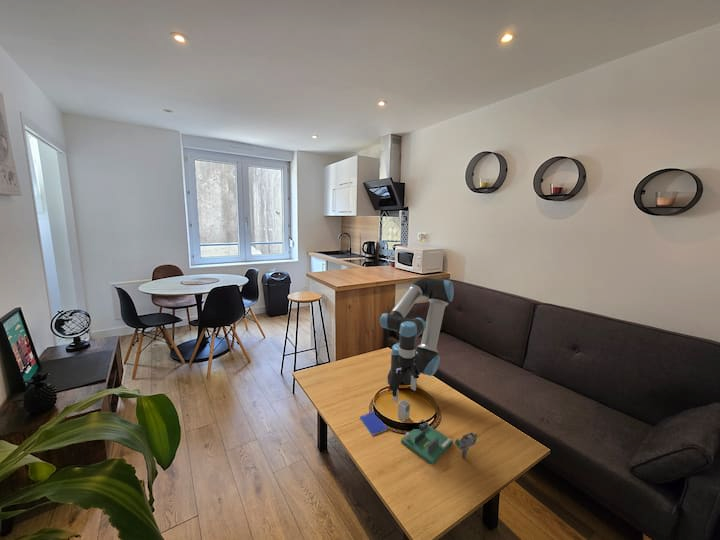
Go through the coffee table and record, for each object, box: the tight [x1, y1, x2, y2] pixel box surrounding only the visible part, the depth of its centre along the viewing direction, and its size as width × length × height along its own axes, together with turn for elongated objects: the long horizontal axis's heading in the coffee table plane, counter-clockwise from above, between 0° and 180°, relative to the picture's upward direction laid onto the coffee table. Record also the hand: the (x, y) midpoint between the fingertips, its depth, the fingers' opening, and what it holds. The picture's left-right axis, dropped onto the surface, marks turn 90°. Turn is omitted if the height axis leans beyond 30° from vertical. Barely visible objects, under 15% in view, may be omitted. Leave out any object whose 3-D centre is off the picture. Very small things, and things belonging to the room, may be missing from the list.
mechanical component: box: [454, 432, 478, 460], centre depth 124 cm, size 3×10×10 cm, turn 113°
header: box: [415, 429, 439, 454], centre depth 130 cm, size 7×7×4 cm
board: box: [400, 419, 454, 466], centre depth 132 cm, size 16×16×4 cm
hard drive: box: [359, 411, 388, 436], centre depth 144 cm, size 2×8×12 cm
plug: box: [397, 399, 411, 422], centre depth 147 cm, size 4×5×8 cm
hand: (404, 395), depth 145 cm, fingers open, 13 cm apart
